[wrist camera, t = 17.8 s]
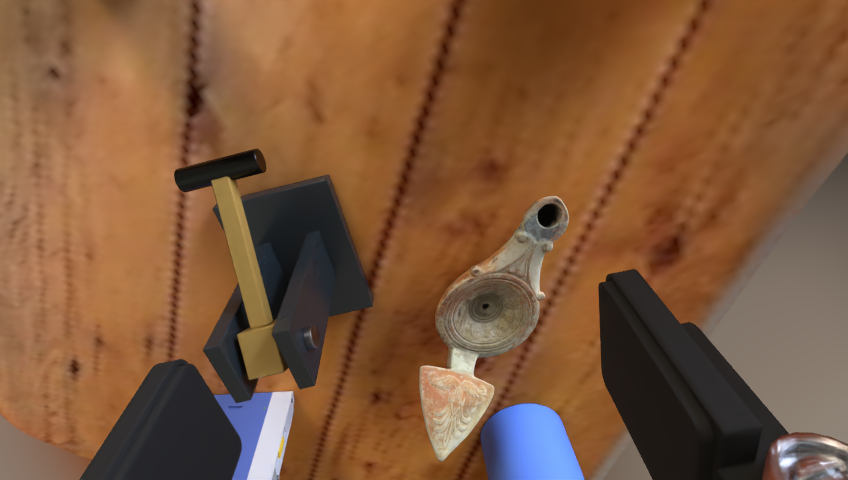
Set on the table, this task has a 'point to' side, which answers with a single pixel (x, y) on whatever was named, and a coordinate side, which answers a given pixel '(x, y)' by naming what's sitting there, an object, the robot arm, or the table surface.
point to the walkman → (260, 432)
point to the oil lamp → (486, 323)
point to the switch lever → (240, 253)
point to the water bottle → (528, 445)
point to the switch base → (292, 280)
